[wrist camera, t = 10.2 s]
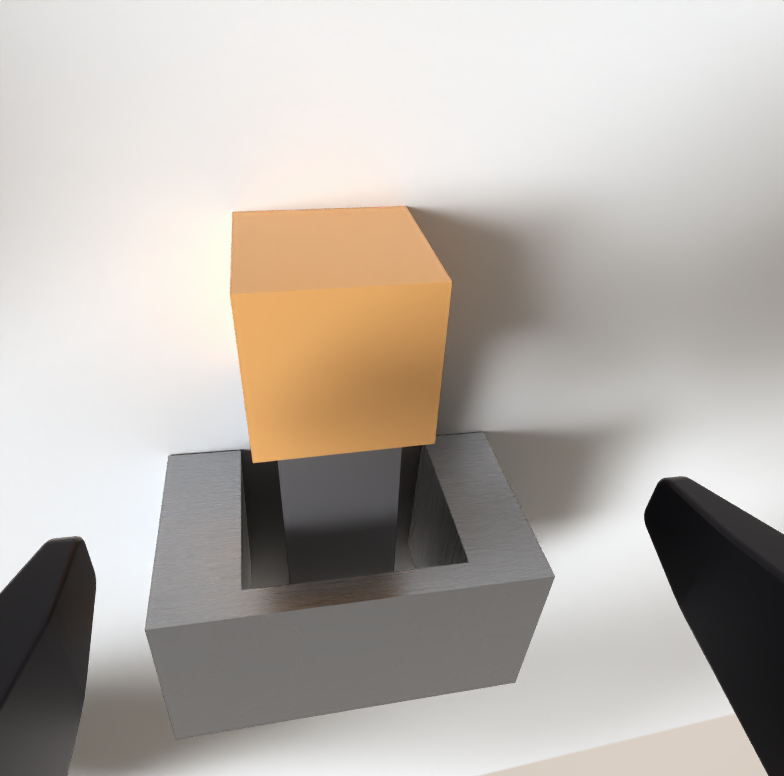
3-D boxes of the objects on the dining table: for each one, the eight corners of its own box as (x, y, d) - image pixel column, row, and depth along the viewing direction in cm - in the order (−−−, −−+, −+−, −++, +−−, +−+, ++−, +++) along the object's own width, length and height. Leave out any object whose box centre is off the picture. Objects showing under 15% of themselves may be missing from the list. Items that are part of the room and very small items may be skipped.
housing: (458, 587, 24) (506, 730, 20) (189, 622, 22) (177, 791, 18) (494, 431, 19) (567, 574, 15) (155, 456, 17) (128, 631, 13)
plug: (386, 573, 23) (409, 676, 19) (278, 588, 22) (284, 698, 19) (405, 205, 14) (452, 281, 11) (232, 211, 14) (229, 293, 10)
